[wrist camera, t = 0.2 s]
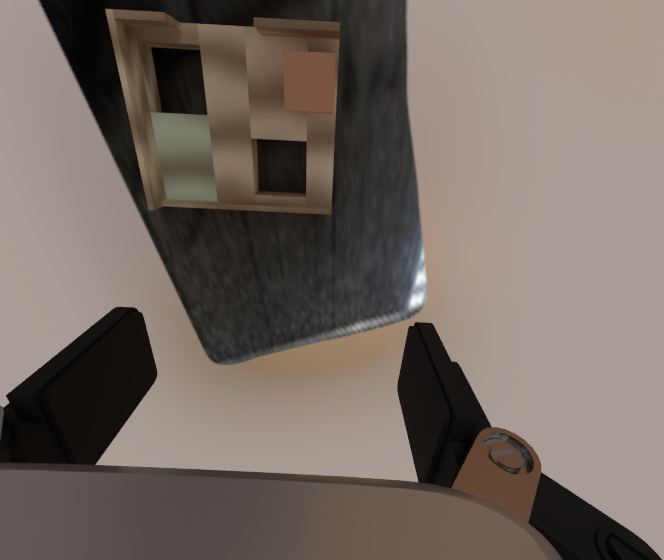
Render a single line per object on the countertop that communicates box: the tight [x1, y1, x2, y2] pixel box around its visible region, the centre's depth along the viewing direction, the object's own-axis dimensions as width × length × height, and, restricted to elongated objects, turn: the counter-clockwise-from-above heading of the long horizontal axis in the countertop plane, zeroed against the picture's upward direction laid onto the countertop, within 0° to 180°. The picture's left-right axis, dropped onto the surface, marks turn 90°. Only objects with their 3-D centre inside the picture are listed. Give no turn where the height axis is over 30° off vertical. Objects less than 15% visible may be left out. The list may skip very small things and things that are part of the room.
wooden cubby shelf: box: [105, 9, 340, 215], centre depth 33 cm, size 17×20×6 cm
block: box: [283, 50, 336, 114], centre depth 29 cm, size 4×4×4 cm
